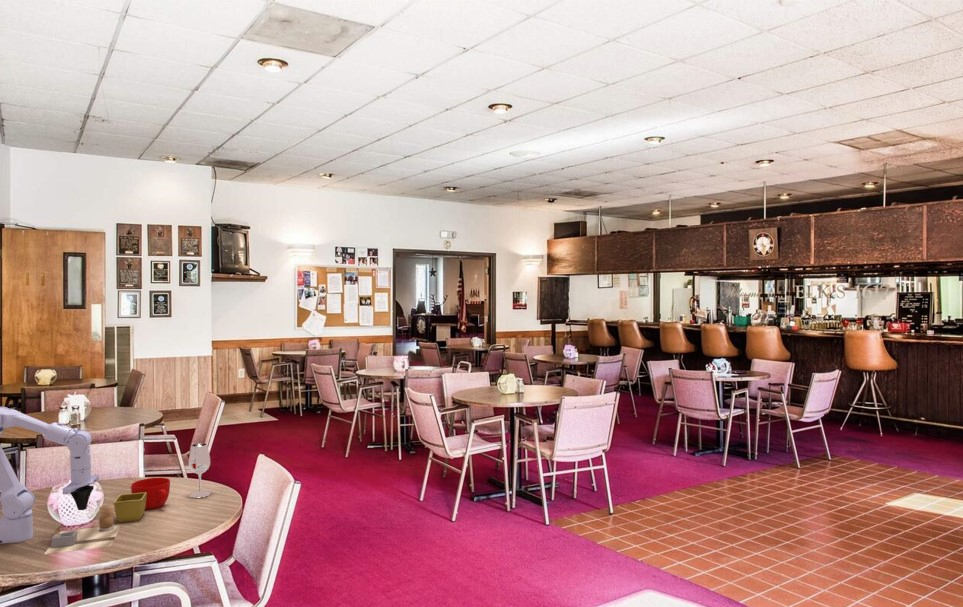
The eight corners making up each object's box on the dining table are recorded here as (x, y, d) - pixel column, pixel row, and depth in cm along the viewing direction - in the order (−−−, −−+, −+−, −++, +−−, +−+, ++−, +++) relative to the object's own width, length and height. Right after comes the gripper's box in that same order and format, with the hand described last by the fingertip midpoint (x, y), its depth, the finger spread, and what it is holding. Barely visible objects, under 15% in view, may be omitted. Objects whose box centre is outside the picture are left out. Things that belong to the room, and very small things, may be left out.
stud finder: (51, 548, 208) (51, 537, 208) (55, 543, 211) (54, 533, 211) (73, 545, 210) (73, 535, 210) (76, 540, 213) (76, 530, 213)
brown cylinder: (97, 532, 221) (97, 509, 220) (100, 527, 225) (99, 505, 225) (112, 530, 222) (112, 508, 222) (115, 526, 226) (114, 504, 226)
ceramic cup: (147, 520, 236) (147, 492, 236) (124, 510, 246) (124, 483, 246) (183, 510, 246) (182, 483, 246) (159, 501, 257) (159, 475, 256)
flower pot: (113, 528, 229) (113, 502, 228) (120, 519, 237) (119, 494, 237) (142, 525, 231) (141, 499, 231) (147, 517, 239) (147, 492, 239)
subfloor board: (43, 559, 203) (43, 554, 203) (60, 536, 222) (60, 531, 222) (110, 550, 209) (110, 546, 209) (121, 528, 228) (121, 524, 228)
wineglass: (189, 493, 266) (188, 443, 265) (210, 491, 269) (209, 441, 268) (189, 499, 258) (188, 448, 258) (211, 496, 262) (210, 445, 261)
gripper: (76, 475, 212) (77, 517, 213) (106, 462, 227) (108, 502, 227) (55, 474, 213) (57, 516, 213) (87, 462, 227) (88, 502, 228)
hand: (82, 509), depth 220 cm, fingers closed
